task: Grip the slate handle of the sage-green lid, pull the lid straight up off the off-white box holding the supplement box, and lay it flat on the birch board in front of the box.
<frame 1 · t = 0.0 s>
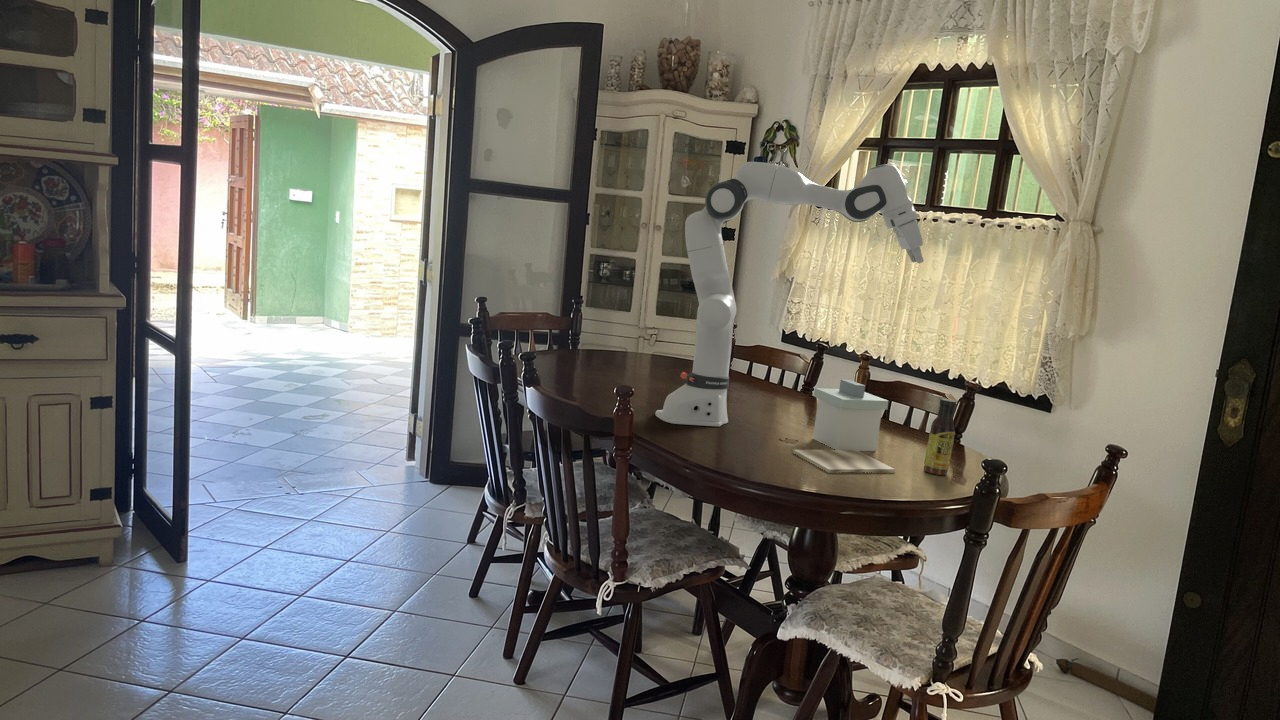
hand: (918, 262, 245), 54 cm above the table, tool tilted 30°, fingers open, 8 cm apart
box: (844, 444, 247), on the table
board: (842, 462, 226), on the table
jar: (851, 431, 266), on the table
lid: (849, 402, 245), point 12 cm above the table, touching box
supplement box: (843, 445, 247), resting in box
sauce bottle: (935, 473, 225), on the table
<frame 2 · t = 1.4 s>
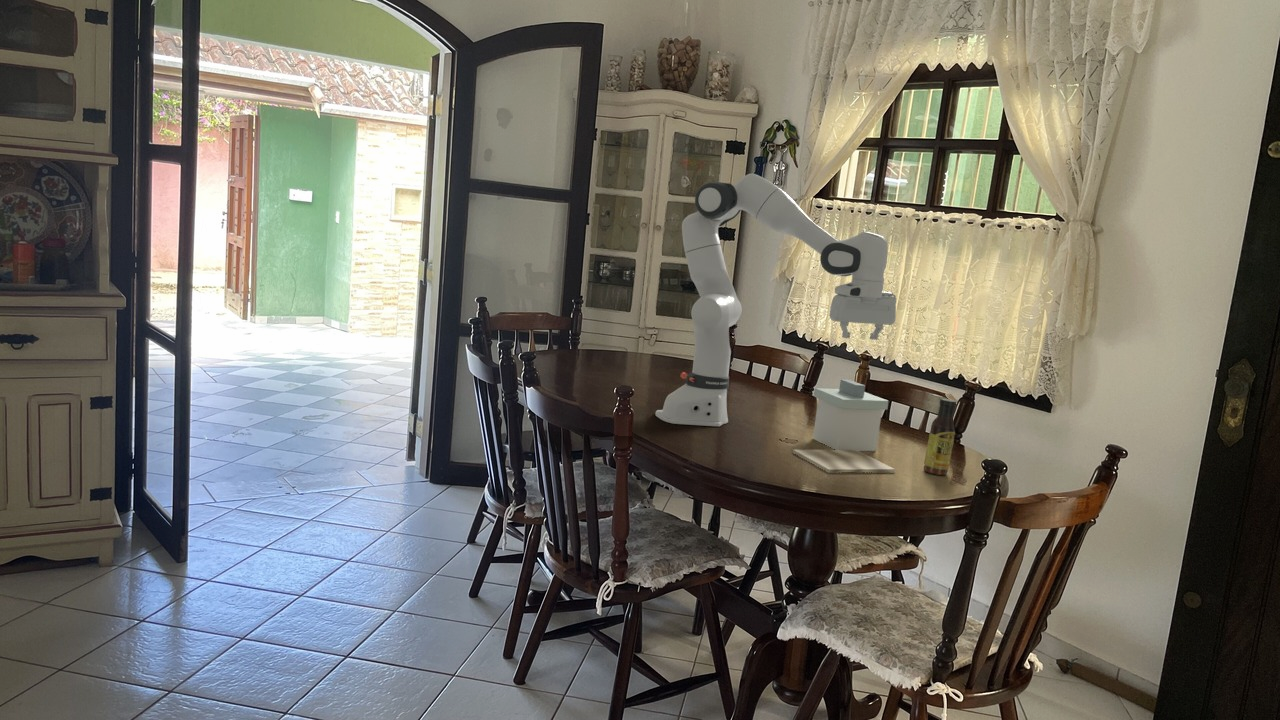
hand: (859, 338, 242), 31 cm above the table, tool pointing down, fingers open, 8 cm apart
nothing on the table moved.
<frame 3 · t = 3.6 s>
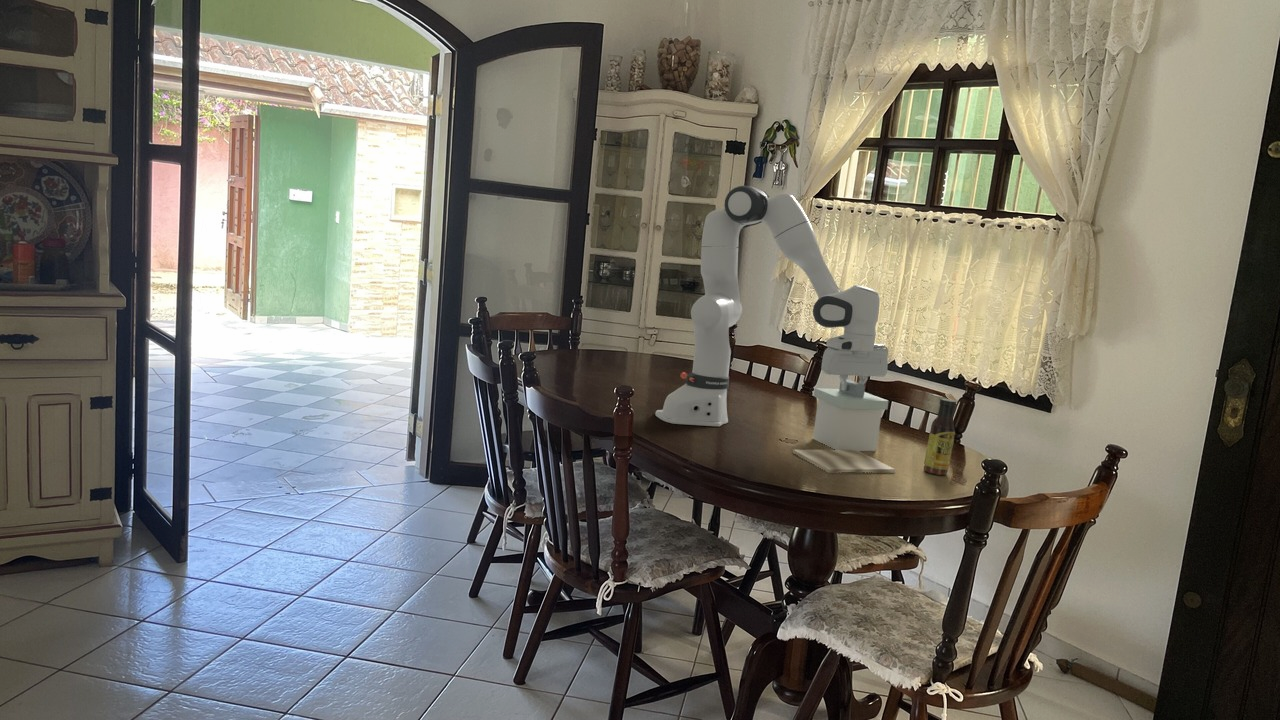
hand: (851, 390, 244), 16 cm above the table, tool pointing down, fingers closed on lid, 3 cm apart
lid: (849, 402, 245), point 12 cm above the table, touching box, gripper
everything else where it was.
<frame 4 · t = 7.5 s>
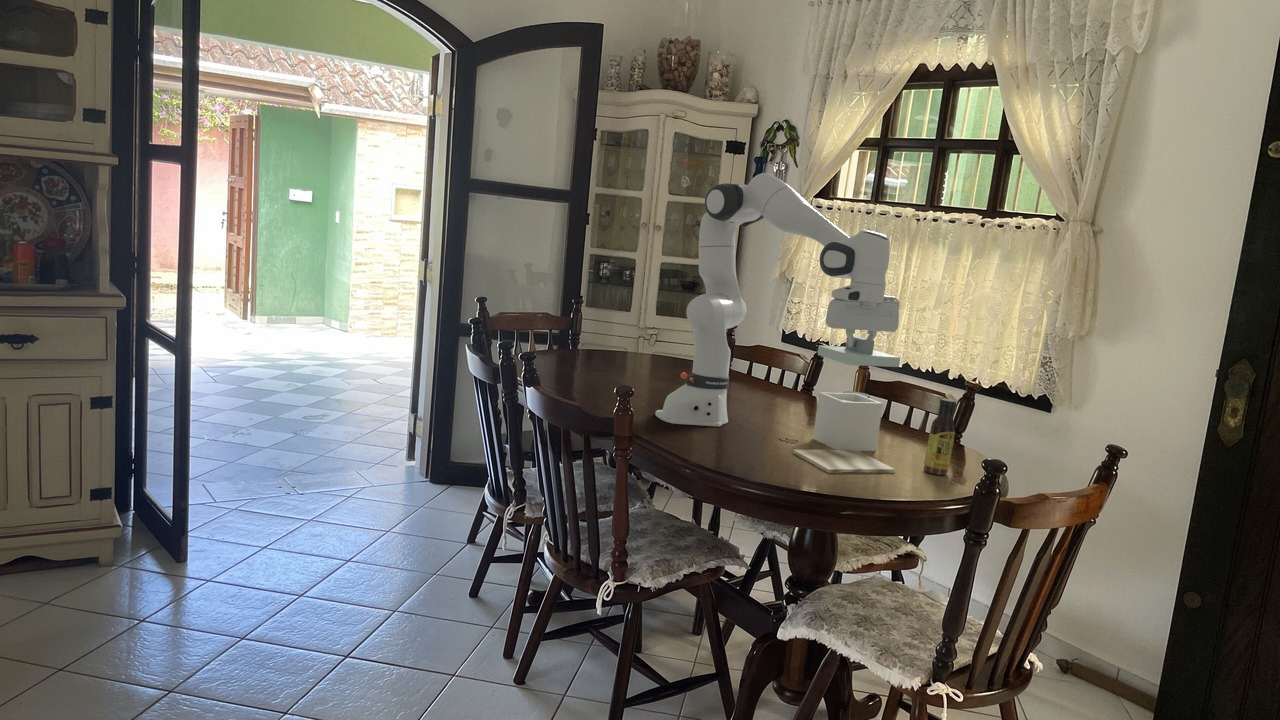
hand: (859, 347, 221), 31 cm above the table, tool pointing down, fingers closed on lid, 3 cm apart
lid: (857, 360, 222), point 28 cm above the table, touching gripper
everything else where it was.
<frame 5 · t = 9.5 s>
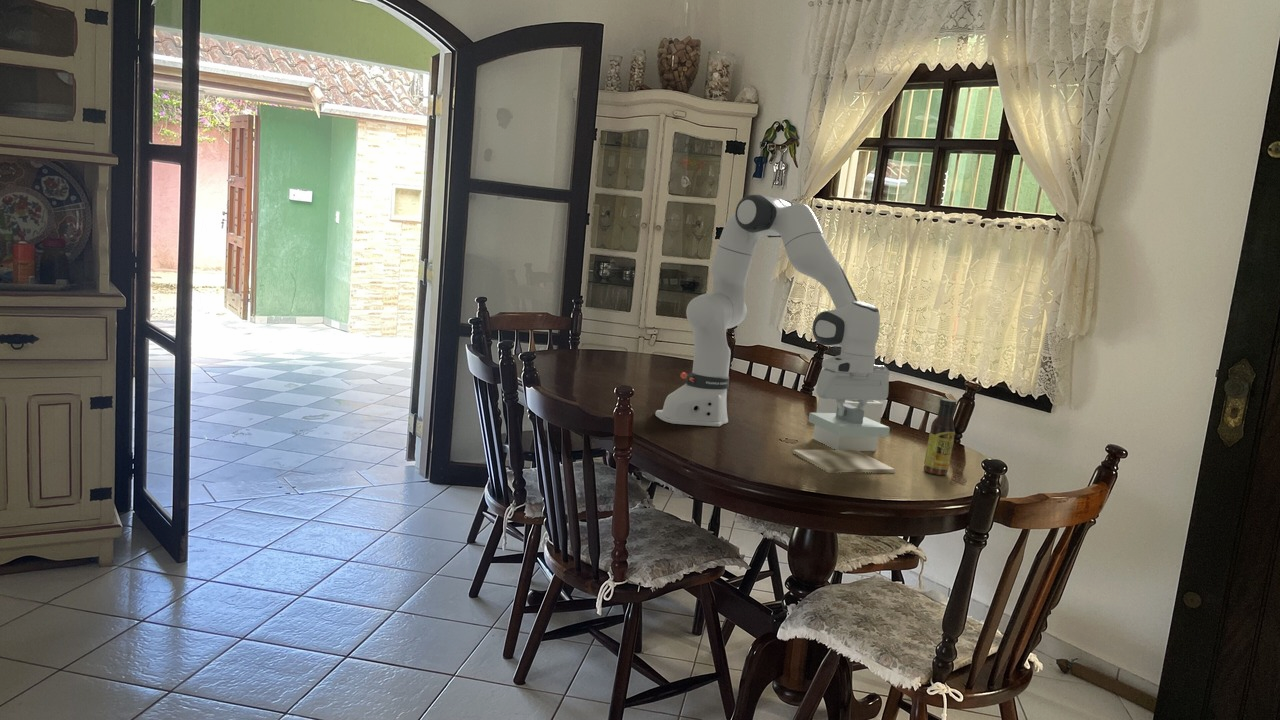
hand: (849, 415, 224), 13 cm above the table, tool pointing down, fingers closed on lid, 3 cm apart
lid: (847, 429, 224), point 9 cm above the table, touching gripper
everything else where it was.
when the fingers open (6 cm above the table, at t = 11.2 s): lid drops 1 cm, resting on board.
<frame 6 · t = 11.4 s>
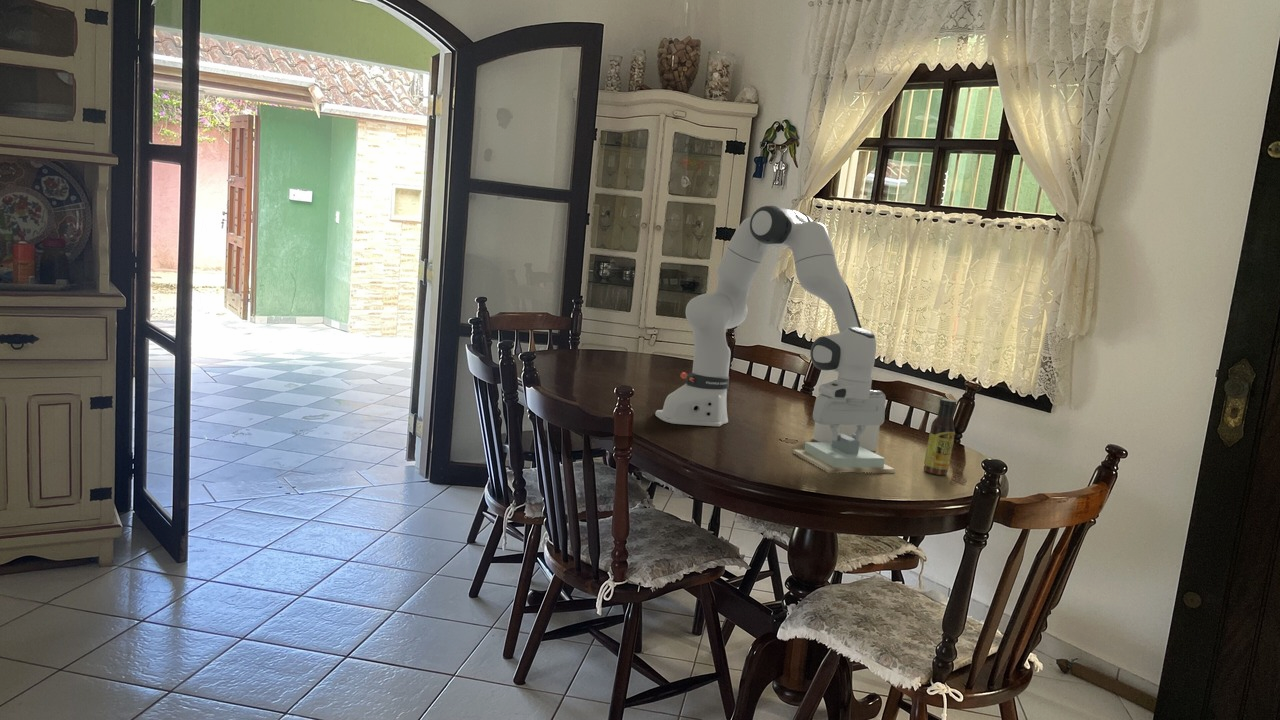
hand: (845, 440, 225), 6 cm above the table, tool pointing down, fingers open, 5 cm apart
lid: (843, 459, 226), point 1 cm above the table, touching board
everything else where it was.
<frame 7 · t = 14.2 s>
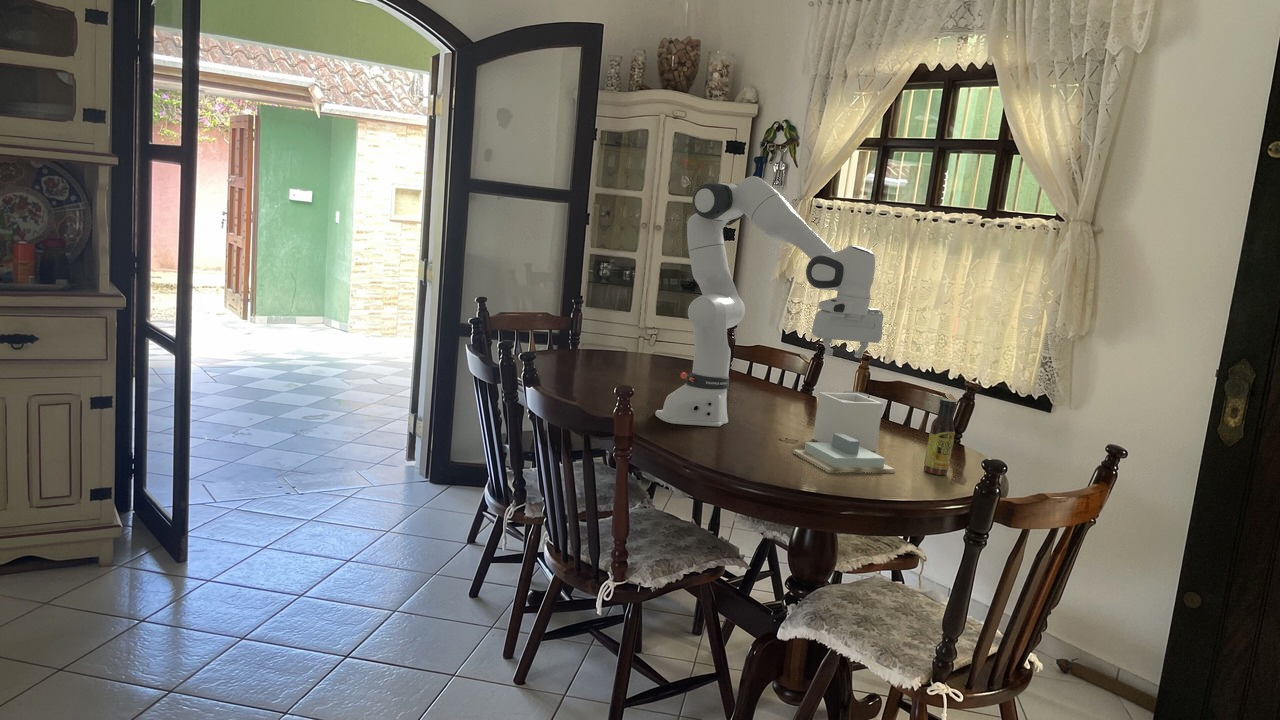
hand: (843, 356, 233), 27 cm above the table, tool pointing down, fingers open, 8 cm apart
nothing on the table moved.
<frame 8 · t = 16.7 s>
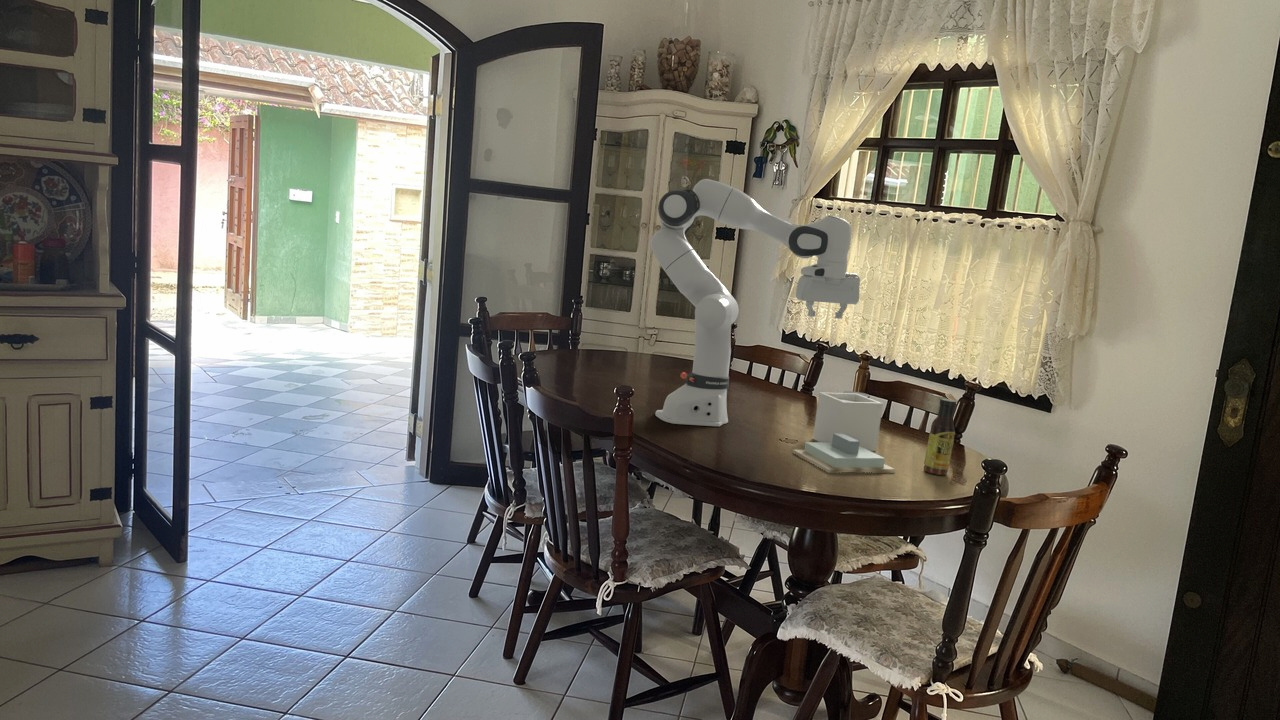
hand: (824, 317, 255), 35 cm above the table, tool pointing down, fingers open, 8 cm apart
nothing on the table moved.
at the end: lid inside the target area on the board (0.0 cm from its centre), point 1.0 cm above the board's base; lid tilted 0°; the gripper is holding nothing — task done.
